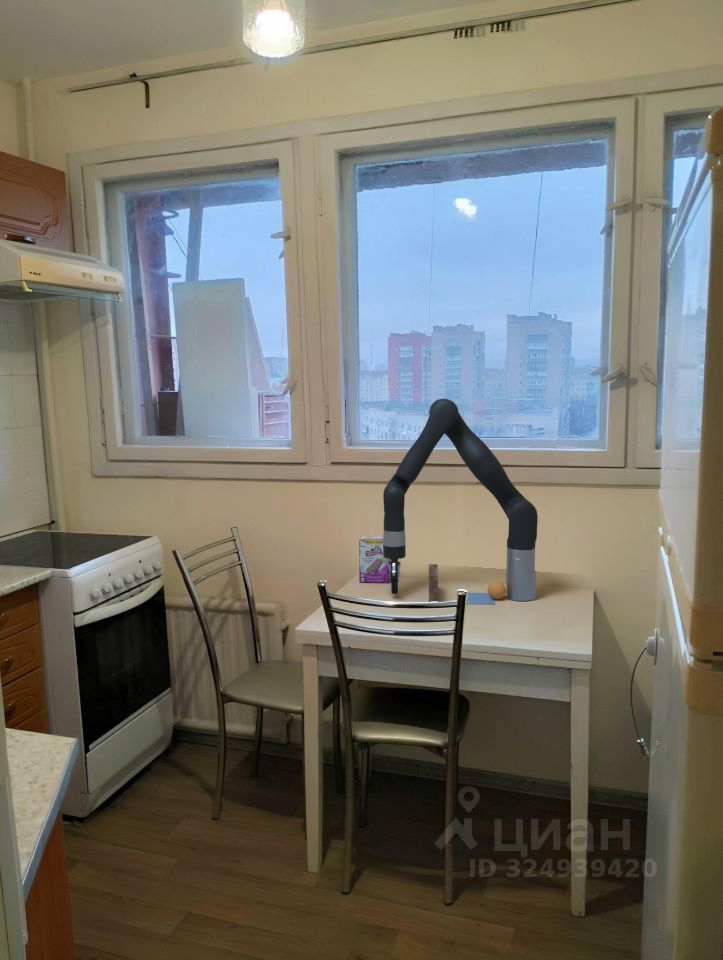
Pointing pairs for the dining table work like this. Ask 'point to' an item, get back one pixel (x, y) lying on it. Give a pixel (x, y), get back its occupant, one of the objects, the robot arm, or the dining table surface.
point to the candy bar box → (372, 561)
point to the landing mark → (479, 598)
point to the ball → (496, 590)
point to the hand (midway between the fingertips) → (394, 593)
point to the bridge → (433, 582)
